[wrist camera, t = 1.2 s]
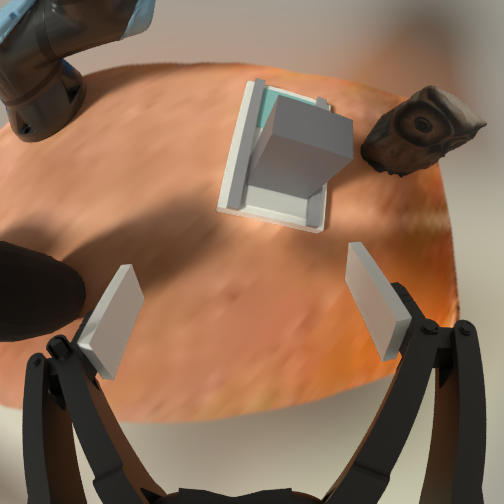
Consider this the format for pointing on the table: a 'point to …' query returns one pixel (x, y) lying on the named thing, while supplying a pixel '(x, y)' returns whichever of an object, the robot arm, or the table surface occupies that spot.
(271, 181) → the grey rectangular block
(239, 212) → the white flat rectangular tray
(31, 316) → the portable speaker
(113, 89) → the table surface
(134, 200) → the table surface
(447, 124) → the owl
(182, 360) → the table surface
